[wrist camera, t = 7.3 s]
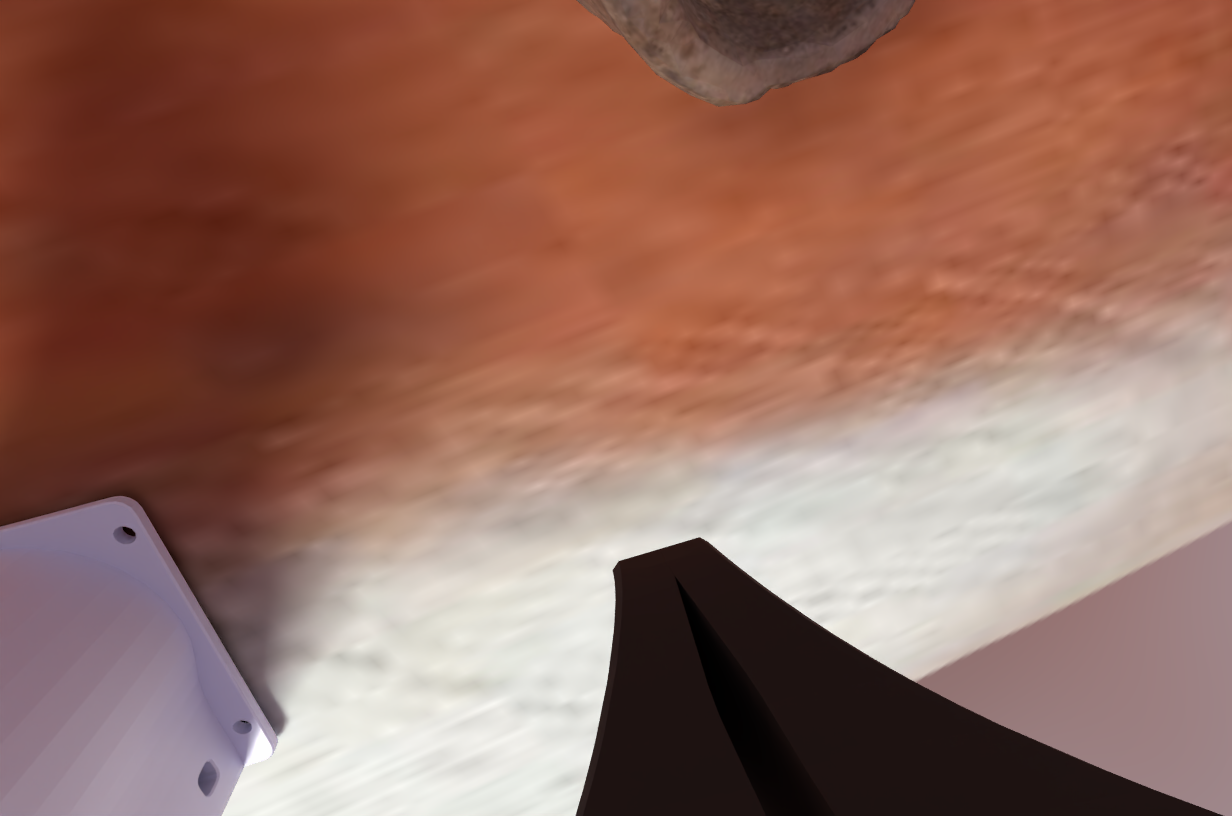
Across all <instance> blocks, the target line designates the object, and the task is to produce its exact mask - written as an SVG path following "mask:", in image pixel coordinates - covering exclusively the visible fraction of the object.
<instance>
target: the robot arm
mask: <svg viewBox="0 0 1232 816" xmlns="http://www.w3.org/2000/svg"><path fill="white" fill-rule="evenodd" d="M125 526H126V527H128V528H131V529H132V530H133V531H134V532H135V533H136V536H131V535H128V534H126V533H125V532H124V531H123V528H122V527H125ZM613 574H614V579H615V594H616V603H615V623H614V634H613V642H612V651H611V659H610V667H609V674H608V680H607V686H606V691H605V696H604V701H603V706H602V711H601V716H600V721H599V726H598V731H597V736H596V741H595V745H594V749H593V753H592V757H591V762H590V766H589V770H588V773H587V777H586V781H585V785H584V789H583V792H582V796H581V799H580V802H579V806H578V809H577V813H576V816H1223V815H1220V814H1217V813H1215V812H1212V811H1209V810H1206V809H1204V808H1201V807H1199V806H1196V805H1193V804H1190V803H1188V802H1185V801H1182V800H1180V799H1177V798H1175V797H1172V796H1169V795H1166V794H1164V793H1161V792H1158V791H1156V790H1153V789H1151V788H1148V787H1146V786H1143V785H1141V784H1138V783H1136V782H1133V781H1131V780H1128V779H1126V778H1123V777H1121V776H1118V775H1116V774H1113V773H1111V772H1108V771H1106V770H1103V769H1101V768H1099V767H1096V766H1094V765H1092V764H1089V763H1087V762H1085V761H1082V760H1080V759H1078V758H1076V757H1073V756H1071V755H1069V754H1066V753H1064V752H1062V751H1059V750H1057V749H1054V748H1052V747H1050V746H1047V745H1045V744H1043V743H1040V742H1038V741H1036V740H1034V739H1031V738H1029V737H1027V736H1024V735H1022V734H1020V733H1017V732H1015V731H1013V730H1011V729H1008V728H1006V727H1004V726H1001V725H999V724H997V723H995V722H992V721H991V720H989V719H987V718H985V717H983V716H981V715H978V714H976V713H974V712H972V711H970V710H968V709H966V708H964V707H961V706H960V705H958V704H956V703H954V702H952V701H950V700H948V699H946V698H944V697H942V696H941V695H939V694H937V693H935V692H933V691H931V690H929V689H927V688H925V687H923V686H921V685H919V684H918V683H916V682H914V681H912V680H910V679H908V678H907V677H905V676H903V675H901V674H899V673H898V672H896V671H894V670H892V669H890V668H889V667H887V666H885V665H884V664H882V663H880V662H878V661H877V660H875V659H873V658H871V657H870V656H868V655H866V654H865V653H863V652H862V651H860V650H858V649H857V648H855V647H853V646H852V645H850V644H849V643H847V642H845V641H844V640H842V639H840V638H839V637H837V636H835V635H834V634H832V633H831V632H829V631H828V630H826V629H825V628H823V627H822V626H820V625H819V624H817V623H815V622H814V621H812V620H811V619H810V618H808V617H807V616H805V615H804V614H802V613H801V612H799V611H798V610H796V609H795V608H794V607H792V606H791V605H789V604H788V603H786V602H785V601H783V600H782V599H781V598H779V597H778V596H776V595H775V594H774V593H772V592H771V591H769V590H768V589H767V588H765V587H764V586H763V585H761V584H760V583H759V582H757V581H756V580H755V579H753V578H752V577H751V576H749V575H748V574H747V573H746V572H744V571H743V570H742V569H740V568H739V567H738V566H737V565H735V564H734V563H733V562H732V561H730V560H729V559H728V558H727V557H725V556H724V555H723V554H722V553H721V552H719V551H718V550H717V549H716V548H715V547H713V546H712V545H711V544H710V543H709V542H707V541H705V540H704V539H702V538H700V537H699V538H696V539H692V540H689V541H685V542H682V543H679V544H675V545H672V546H669V547H665V548H662V549H658V550H655V551H652V552H648V553H645V554H642V555H638V556H635V557H632V558H628V559H625V560H621V561H619V562H618V563H617V565H616V566H615V568H614V569H613ZM242 720H244V721H247V722H249V723H243V722H241V721H242ZM277 743H278V739H277V736H276V734H275V732H274V731H273V729H272V727H271V726H270V724H269V722H268V720H267V719H266V717H265V715H264V714H263V712H262V710H261V709H260V707H259V705H258V703H257V702H256V700H255V698H254V697H253V695H252V693H251V692H250V690H249V688H248V686H247V685H246V683H245V681H244V680H243V678H242V676H241V675H240V673H239V671H238V669H237V668H236V666H235V664H234V663H233V661H232V659H231V658H230V656H229V654H228V652H227V651H226V649H225V647H224V646H223V644H222V642H221V641H220V639H219V637H218V635H217V634H216V632H215V630H214V629H213V627H212V625H211V624H210V622H209V620H208V618H207V617H206V615H205V613H204V612H203V610H202V608H201V607H200V605H199V603H198V601H197V600H196V598H195V596H194V595H193V593H192V591H191V590H190V588H189V586H188V584H187V583H186V581H185V579H184V578H183V576H182V574H181V573H180V571H179V569H178V567H177V566H176V564H175V562H174V561H173V559H172V557H171V556H170V554H169V552H168V550H167V549H166V547H165V545H164V544H163V542H162V540H161V539H160V537H159V535H158V533H157V532H156V530H155V528H154V527H153V525H152V523H151V522H150V520H149V518H148V516H147V515H146V513H145V511H144V510H143V508H142V507H141V506H140V504H139V503H138V502H137V501H135V500H133V499H131V498H129V497H125V496H114V497H110V498H106V499H102V500H98V501H95V502H91V503H87V504H83V505H80V506H76V507H72V508H69V509H65V510H61V511H57V512H54V513H50V514H46V515H42V516H39V517H35V518H31V519H27V520H24V521H20V522H16V523H13V524H9V525H5V526H1V527H0V816H222V814H223V811H224V809H225V807H226V805H227V803H228V801H229V798H230V796H231V794H232V792H233V790H234V787H235V785H236V783H237V781H238V779H239V777H240V774H241V772H242V770H243V768H244V766H247V765H251V764H254V763H257V762H260V761H264V760H266V759H268V758H270V757H271V756H272V755H273V753H274V751H275V749H276V746H277Z"/></svg>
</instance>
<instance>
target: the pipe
mask: <svg viewBox="0 0 1232 816" xmlns="http://www.w3.org/2000/svg"><path fill="white" fill-rule="evenodd" d="M577 1H578V2H579V3H580V4H581V5H582V6H584V7H585V8H586V9H587V10H588V11H589V12H590V13H592V14H594V15H595V16H597V17H598V18H600V19H601V20H602V21H603V22H604V23H605V24H607V25H608V26H609V27H610V28H611V29H612V30H613V31H614V32H616V33H618V34H620V35H622V36H623V37H624V38H625V39H626V41H627V42H628V43H629V44H630V45H631V47H632V48H633V49H634V50H635V51H636V52H637V53H638V54H639V55H640V57H641V58H642V59H643V60H644V61H645V62H646V63H647V64H648V65H649V67H650V68H651V69H652V70H653V71H654V72H655V73H656V74H657V75H658V76H660V77H661V78H663V79H665V80H666V81H668V82H670V83H671V84H673V85H675V86H676V87H678V88H679V89H681V90H683V91H684V92H686V93H688V94H689V95H691V96H694V97H696V98H699V99H701V100H704V101H706V102H709V103H711V104H713V105H716V106H718V107H719V106H729V105H739V104H746V103H749V102H752V101H755V100H758V99H760V98H761V97H762V96H763V95H764V94H765V93H766V92H767V91H768V90H769V89H770V88H773V89H778V88H782V87H786V86H789V85H790V84H792V83H794V82H798V81H801V80H805V79H808V78H811V77H815V76H818V75H821V74H825V73H828V72H831V71H833V70H834V69H835V68H837V67H838V66H839V65H841V64H844V63H846V62H849V61H851V60H854V59H856V58H857V57H859V56H860V55H862V54H863V53H864V52H866V51H867V50H868V49H869V47H870V46H871V45H872V44H873V43H874V42H875V41H876V40H877V39H878V38H880V37H882V36H883V35H885V34H886V33H888V32H889V31H891V30H893V29H894V28H895V27H896V25H897V24H898V22H899V20H900V19H901V18H903V17H904V16H906V15H907V14H908V13H909V11H910V9H911V7H912V6H913V4H914V2H915V0H577Z"/></svg>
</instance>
